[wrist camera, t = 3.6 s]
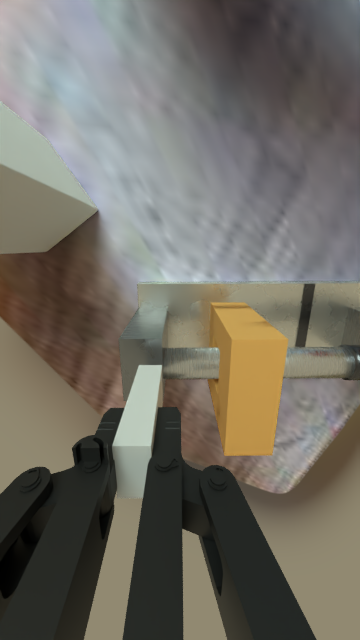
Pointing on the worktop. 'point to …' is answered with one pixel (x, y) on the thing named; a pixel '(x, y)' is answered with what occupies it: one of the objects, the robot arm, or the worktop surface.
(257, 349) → the orange tall block
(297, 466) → the worktop surface
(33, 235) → the milk carton
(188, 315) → the pipe stand
